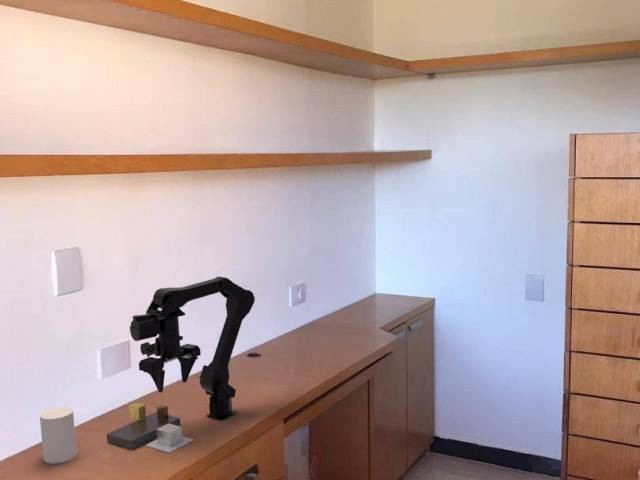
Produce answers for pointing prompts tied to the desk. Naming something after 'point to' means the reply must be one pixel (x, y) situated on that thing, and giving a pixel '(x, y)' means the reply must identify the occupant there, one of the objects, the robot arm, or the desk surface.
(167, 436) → the light grey block
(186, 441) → the felt mat
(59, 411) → the cup
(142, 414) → the block
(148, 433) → the dark grey base plate
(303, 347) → the desk surface
